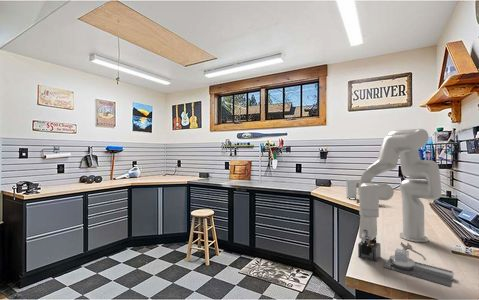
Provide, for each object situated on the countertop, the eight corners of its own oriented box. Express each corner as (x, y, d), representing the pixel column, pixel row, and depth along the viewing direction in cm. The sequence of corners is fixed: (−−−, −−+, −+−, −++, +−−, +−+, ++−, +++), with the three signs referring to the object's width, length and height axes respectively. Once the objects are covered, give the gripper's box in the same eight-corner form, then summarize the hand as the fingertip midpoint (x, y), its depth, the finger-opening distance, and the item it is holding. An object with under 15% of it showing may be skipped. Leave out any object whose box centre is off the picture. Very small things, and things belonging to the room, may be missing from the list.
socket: (363, 252, 110) (363, 239, 110) (380, 256, 105) (380, 243, 105) (358, 256, 105) (358, 243, 105) (376, 261, 100) (375, 247, 100)
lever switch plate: (391, 256, 105) (391, 243, 105) (454, 272, 91) (453, 257, 91) (383, 267, 95) (383, 252, 95) (452, 287, 81) (451, 269, 81)
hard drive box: (362, 198, 245) (361, 178, 246) (364, 199, 238) (364, 179, 238) (346, 197, 247) (346, 178, 248) (348, 199, 240) (348, 179, 240)
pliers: (402, 256, 104) (386, 240, 123) (402, 258, 104) (386, 242, 123) (428, 259, 102) (407, 242, 121) (428, 261, 102) (407, 244, 121)
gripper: (365, 208, 114) (365, 244, 114) (353, 214, 102) (353, 254, 101) (383, 210, 109) (383, 248, 109) (372, 217, 97) (372, 260, 96)
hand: (369, 251), depth 105 cm, fingers open, 9 cm apart
